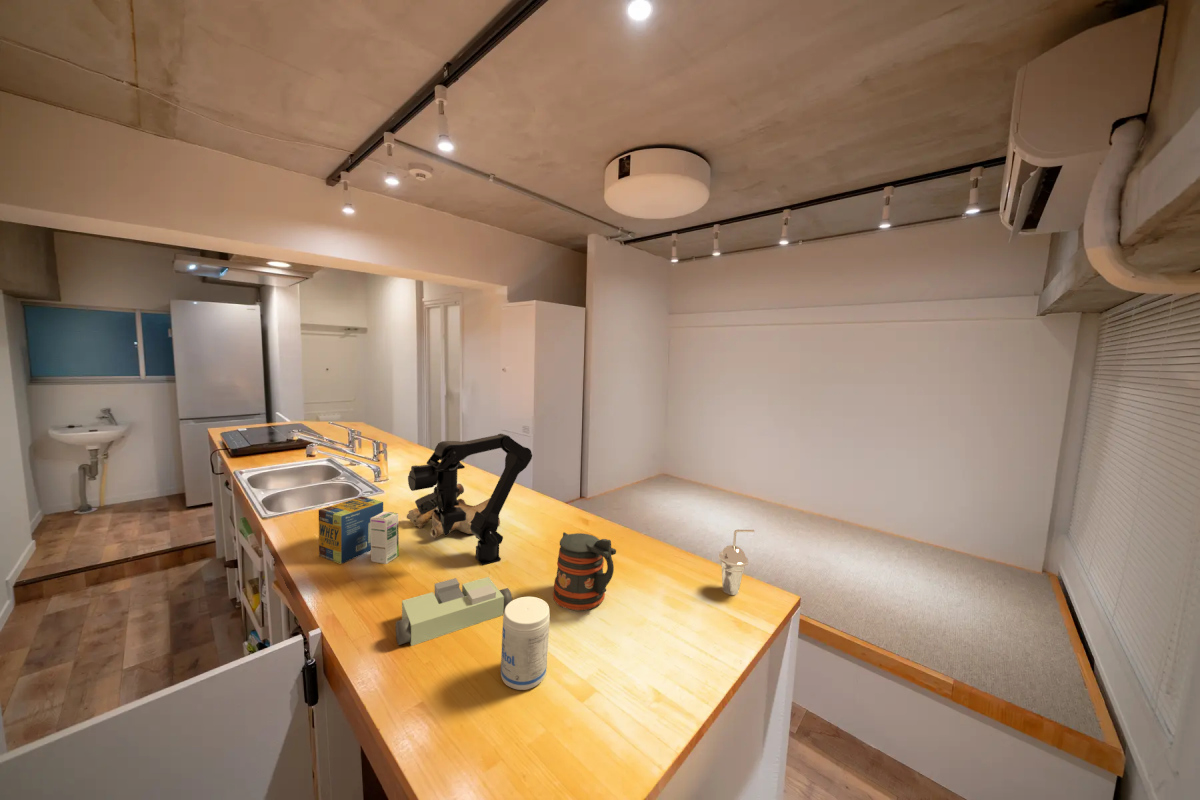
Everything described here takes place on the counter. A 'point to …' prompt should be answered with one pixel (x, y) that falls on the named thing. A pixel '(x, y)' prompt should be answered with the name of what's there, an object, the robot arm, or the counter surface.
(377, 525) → the syrup box
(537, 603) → the supplement tub
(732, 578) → the cup with straw
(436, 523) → the tan knobby branched lump
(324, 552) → the protein box
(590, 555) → the beer stein
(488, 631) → the counter surface
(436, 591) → the grey stepped block
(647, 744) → the counter surface
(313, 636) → the counter surface
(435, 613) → the green roller block
